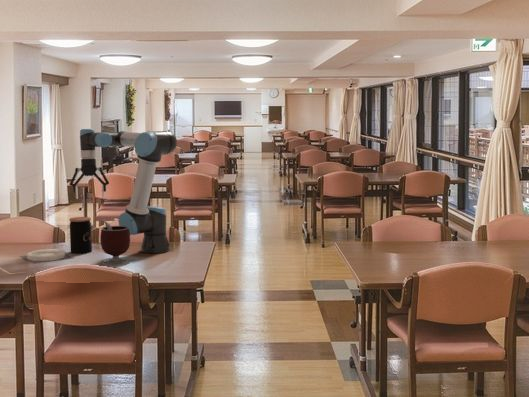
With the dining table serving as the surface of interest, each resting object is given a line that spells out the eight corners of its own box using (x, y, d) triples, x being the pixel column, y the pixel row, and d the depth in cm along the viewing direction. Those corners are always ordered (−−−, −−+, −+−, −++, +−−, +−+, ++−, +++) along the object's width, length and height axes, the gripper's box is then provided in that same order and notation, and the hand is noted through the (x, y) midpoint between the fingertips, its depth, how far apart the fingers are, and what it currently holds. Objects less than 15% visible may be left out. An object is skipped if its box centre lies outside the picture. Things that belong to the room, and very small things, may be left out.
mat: (74, 259, 361) (74, 258, 361) (34, 264, 349) (34, 263, 349) (57, 252, 379) (57, 251, 379) (19, 257, 367) (19, 256, 367)
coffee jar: (86, 255, 371) (85, 220, 368) (67, 254, 373) (65, 219, 371) (95, 251, 381) (94, 217, 379) (76, 250, 383) (75, 216, 381)
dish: (71, 257, 362) (71, 253, 362) (35, 262, 351) (34, 258, 351) (57, 252, 376) (57, 247, 376) (22, 256, 366) (22, 252, 365)
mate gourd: (136, 262, 353) (135, 221, 350) (113, 267, 342) (112, 225, 340) (116, 258, 363) (115, 218, 360) (93, 263, 352) (91, 222, 350)
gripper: (112, 157, 393) (114, 196, 395) (64, 158, 389) (66, 198, 391) (112, 157, 385) (113, 198, 387) (63, 159, 382) (65, 199, 384)
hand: (90, 198), depth 389 cm, fingers open, 13 cm apart
